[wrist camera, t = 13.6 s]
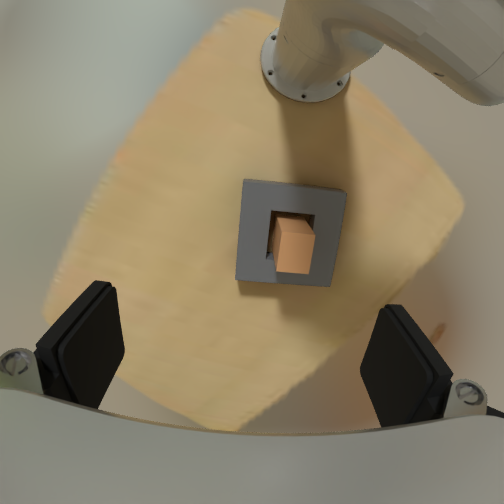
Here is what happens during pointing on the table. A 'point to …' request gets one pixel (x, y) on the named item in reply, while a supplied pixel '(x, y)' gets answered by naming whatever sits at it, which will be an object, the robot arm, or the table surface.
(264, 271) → the socket plate
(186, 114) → the table surface
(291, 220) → the plug
